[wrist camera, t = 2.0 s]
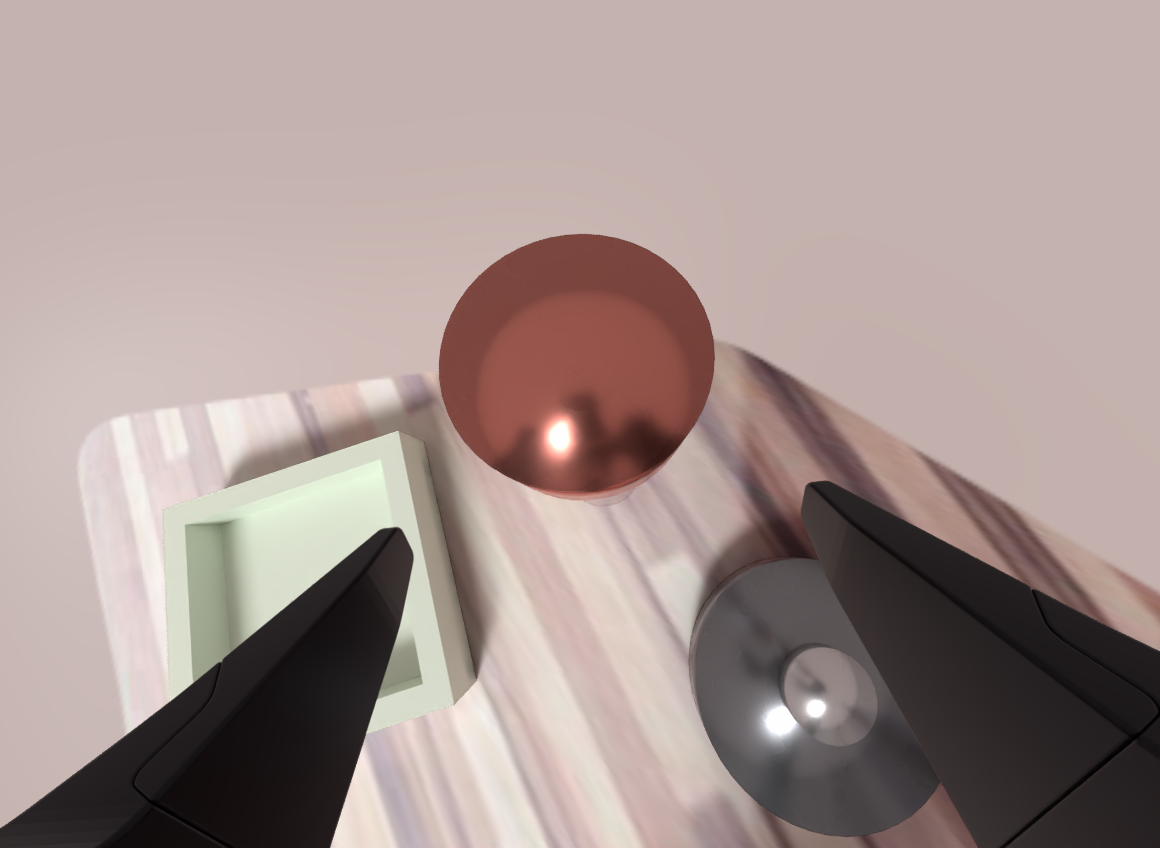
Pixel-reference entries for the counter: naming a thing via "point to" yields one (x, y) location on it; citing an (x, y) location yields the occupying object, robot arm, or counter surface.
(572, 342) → the pin
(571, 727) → the counter surface
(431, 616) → the tray
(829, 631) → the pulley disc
